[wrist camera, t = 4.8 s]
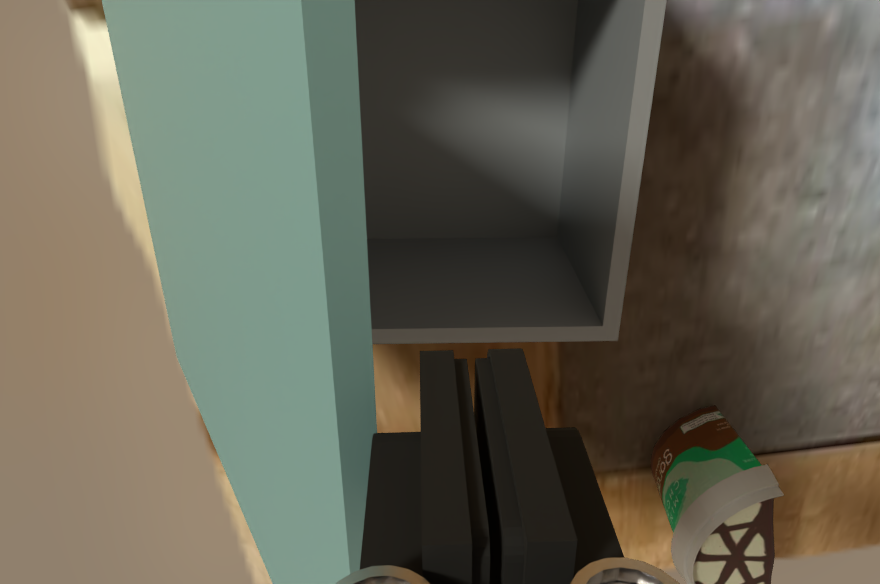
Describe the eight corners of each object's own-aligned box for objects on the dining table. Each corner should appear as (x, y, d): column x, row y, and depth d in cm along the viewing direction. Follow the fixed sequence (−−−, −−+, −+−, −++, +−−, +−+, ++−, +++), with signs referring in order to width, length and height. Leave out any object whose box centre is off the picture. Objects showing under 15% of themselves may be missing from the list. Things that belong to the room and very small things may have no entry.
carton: (597, -82, 33) (681, -105, 23) (566, 244, 41) (617, 340, 31) (204, -83, 33) (99, -108, 22) (250, 247, 41) (189, 346, 30)
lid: (335, -358, 6) (269, -373, 5) (395, 798, 14) (370, 814, 14) (96, -118, 22) (76, -120, 22) (190, 353, 30) (176, 356, 30)
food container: (629, 404, 47) (678, 506, 38) (714, 388, 47) (784, 488, 38) (640, 525, 53) (685, 639, 44) (717, 512, 52) (778, 625, 43)
